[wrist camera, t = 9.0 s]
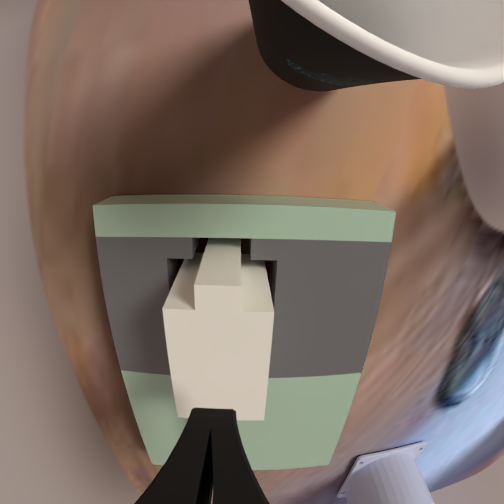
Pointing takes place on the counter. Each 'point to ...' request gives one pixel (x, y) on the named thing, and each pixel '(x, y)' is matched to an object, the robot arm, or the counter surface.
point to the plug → (220, 331)
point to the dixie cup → (381, 41)
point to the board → (283, 298)
